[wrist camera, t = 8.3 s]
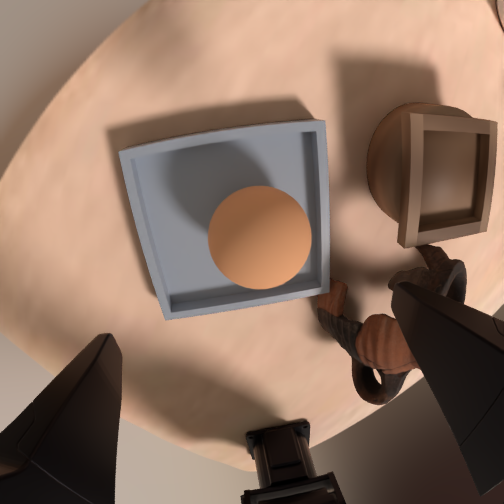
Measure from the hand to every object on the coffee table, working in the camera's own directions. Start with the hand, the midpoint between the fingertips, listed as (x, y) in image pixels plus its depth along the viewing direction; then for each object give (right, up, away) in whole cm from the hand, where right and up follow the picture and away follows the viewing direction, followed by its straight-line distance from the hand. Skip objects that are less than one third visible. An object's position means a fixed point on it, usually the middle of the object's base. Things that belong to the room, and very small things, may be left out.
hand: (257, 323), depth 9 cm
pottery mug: (+9, -1, +13) cm, 16 cm away
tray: (-1, +4, +8) cm, 9 cm away
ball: (0, +3, +6) cm, 6 cm away
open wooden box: (+10, +8, +8) cm, 15 cm away
